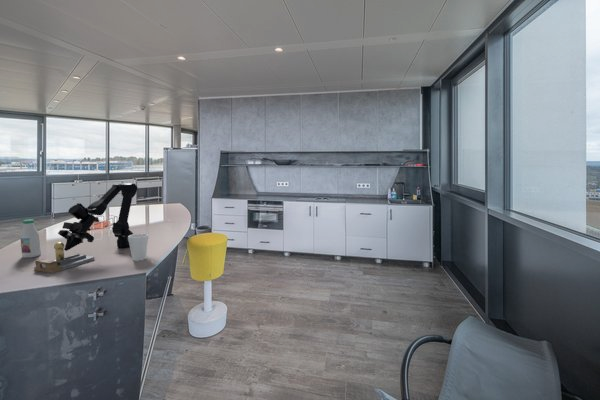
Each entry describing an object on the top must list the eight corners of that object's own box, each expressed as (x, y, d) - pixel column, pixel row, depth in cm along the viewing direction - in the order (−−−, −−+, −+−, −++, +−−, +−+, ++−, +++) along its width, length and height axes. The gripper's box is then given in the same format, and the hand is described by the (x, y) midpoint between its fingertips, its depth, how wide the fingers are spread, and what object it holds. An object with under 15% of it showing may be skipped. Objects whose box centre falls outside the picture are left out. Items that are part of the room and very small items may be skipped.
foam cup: (152, 257, 167) (151, 234, 165) (139, 262, 158) (137, 238, 157) (139, 255, 170) (138, 232, 169) (125, 260, 162) (123, 236, 160)
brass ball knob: (61, 261, 154) (60, 241, 152) (67, 262, 152) (65, 241, 151) (40, 267, 145) (39, 245, 143) (46, 268, 143) (45, 246, 142)
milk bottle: (38, 253, 172) (35, 218, 169) (43, 255, 168) (39, 219, 165) (20, 256, 166) (16, 220, 163) (24, 259, 161) (21, 221, 159)
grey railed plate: (77, 257, 165) (77, 248, 165) (94, 259, 162) (93, 251, 161) (34, 270, 146) (33, 260, 145) (52, 273, 142) (51, 263, 141)
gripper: (60, 214, 159) (38, 240, 150) (87, 217, 153) (66, 243, 144) (76, 226, 167) (56, 251, 158) (102, 229, 162) (83, 255, 153)
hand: (65, 250), depth 153 cm, fingers closed
